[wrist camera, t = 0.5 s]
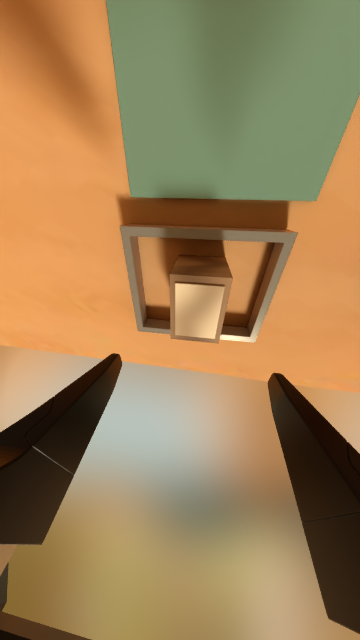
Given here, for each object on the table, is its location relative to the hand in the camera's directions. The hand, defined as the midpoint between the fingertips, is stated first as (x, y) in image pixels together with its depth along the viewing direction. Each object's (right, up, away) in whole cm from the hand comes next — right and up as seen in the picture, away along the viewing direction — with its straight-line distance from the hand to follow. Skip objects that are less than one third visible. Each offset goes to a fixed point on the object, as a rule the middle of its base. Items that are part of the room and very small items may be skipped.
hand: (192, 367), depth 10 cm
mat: (+3, +18, +2) cm, 18 cm away
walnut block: (+2, +7, +10) cm, 12 cm away
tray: (+2, +7, +10) cm, 12 cm away
